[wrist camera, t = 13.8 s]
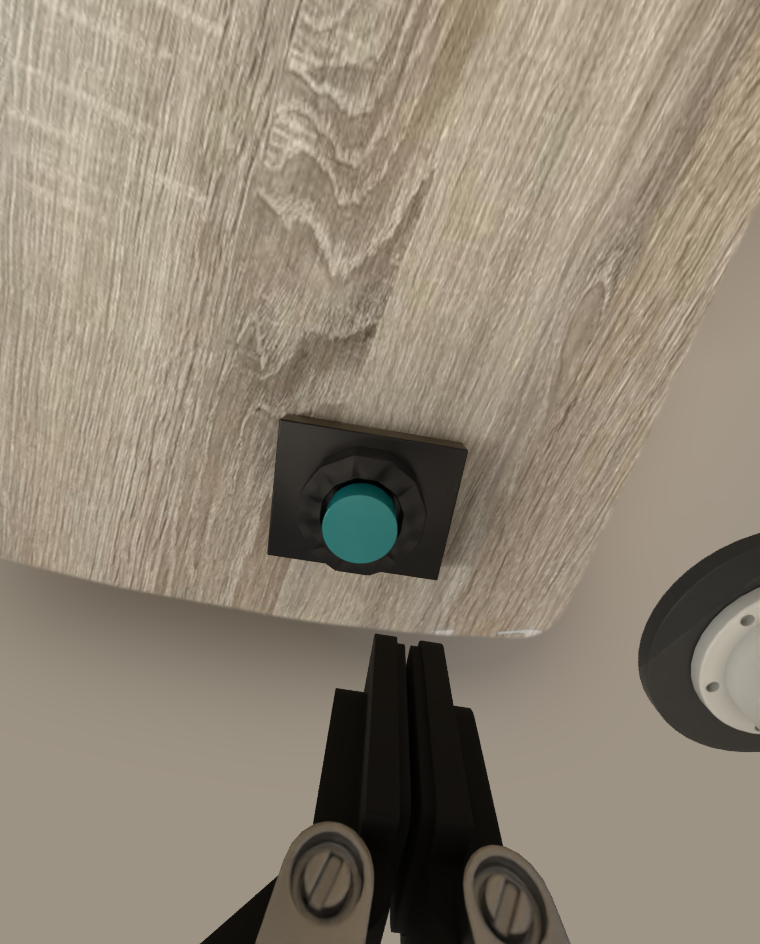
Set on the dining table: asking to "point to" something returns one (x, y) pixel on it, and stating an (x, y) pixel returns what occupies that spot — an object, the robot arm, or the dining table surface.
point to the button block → (364, 461)
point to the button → (360, 523)
